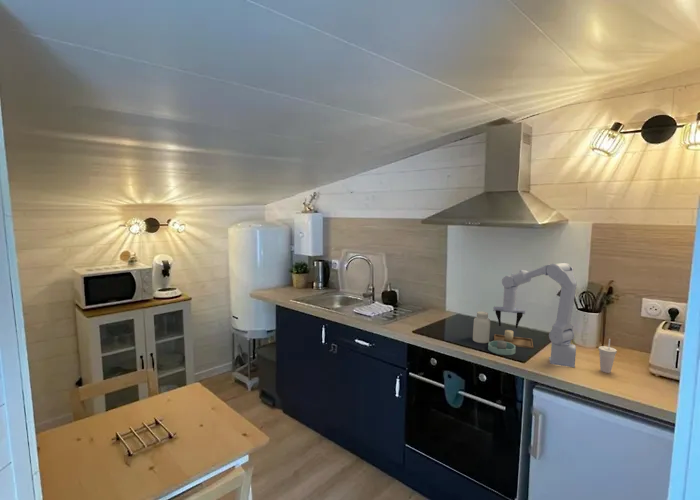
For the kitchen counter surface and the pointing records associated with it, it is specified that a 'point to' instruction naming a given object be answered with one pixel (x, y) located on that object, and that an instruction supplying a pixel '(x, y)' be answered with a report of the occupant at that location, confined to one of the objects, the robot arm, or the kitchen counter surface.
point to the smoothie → (606, 357)
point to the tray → (516, 341)
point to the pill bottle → (481, 328)
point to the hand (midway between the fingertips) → (508, 326)
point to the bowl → (508, 351)
